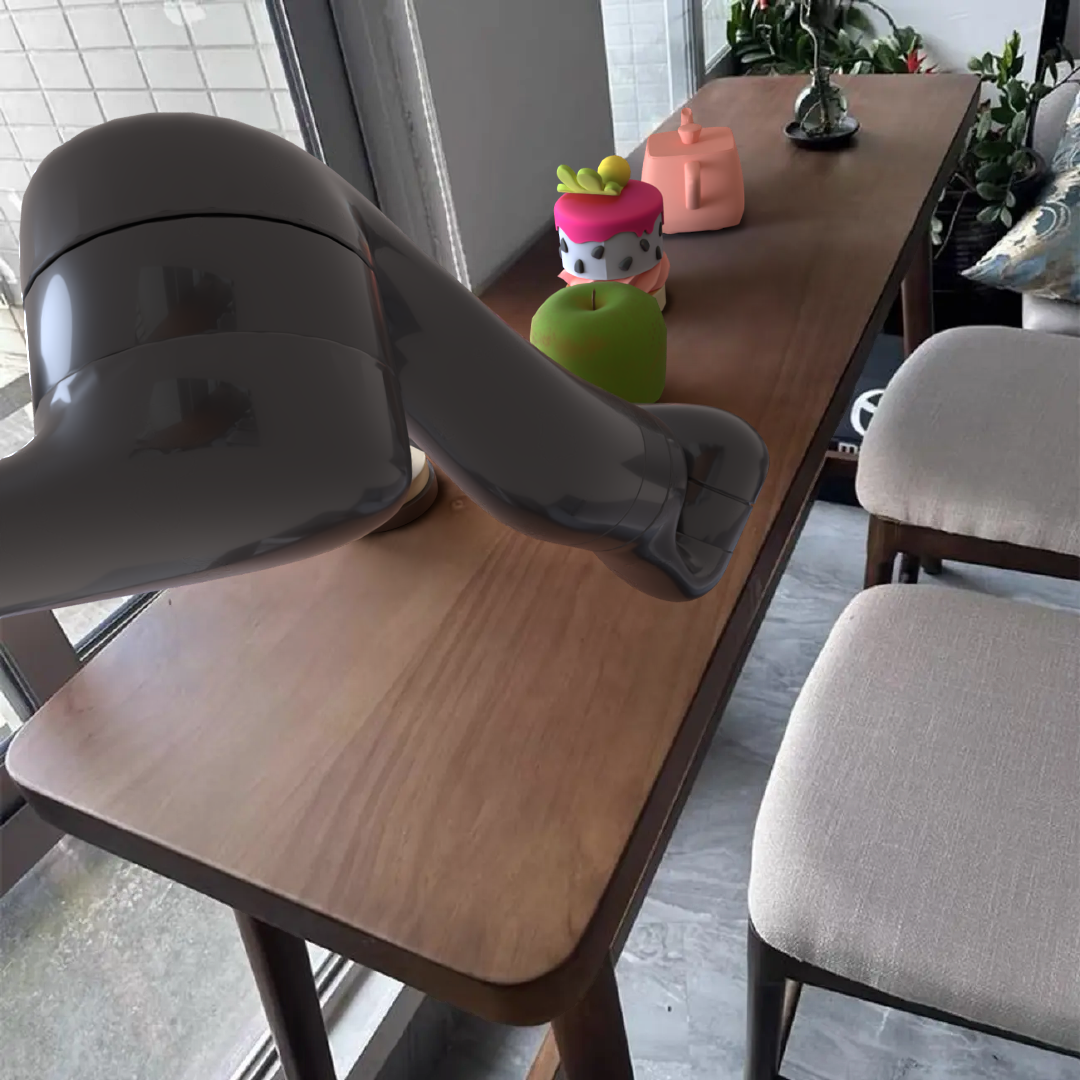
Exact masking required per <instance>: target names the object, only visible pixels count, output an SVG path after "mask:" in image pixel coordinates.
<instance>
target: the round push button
mask: <svg viewBox="0 0 1080 1080" xmlns="http://www.w3.org/2000/svg"><path fill="white" fill-rule="evenodd" d="M410 448H411V456H412V483H411V487H410V490H409V494H408V496H407V498H406V501H405V503H404V504H403V506H402V507H401V508H400V510H399V511H398V512H397V513H396V514H395V515H394V516H393V517H392V518H390V519H389V520H388V521H387V522H385V523H384V524H382V525H381V526H380V527H378V528H376V529H375V530H373V531H371V532H370V533H369V534H373V533H374V534H375V533H382V532H386V531H390V530H391V531H392V530H394V529H397V528H400V527H403V526H405V525H407V524H409V523H411V522H413V521H414V520H416V519H418V518H419V517H420V516H422V515H423V514H424V513H425V512H427V511H428V510H429V509H430V507H431V506H432V505H433V503H434V502H435V500H436V498H437V495H438V492H439V483H438V480H437V475H436V471H435V467H434V465H433V463H432V462H431V461H430V459H428V458H427V455H426V454H425V453H424V452H422V451H420V450H418V449H416V448H414V447H412V446H410Z"/></svg>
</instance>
